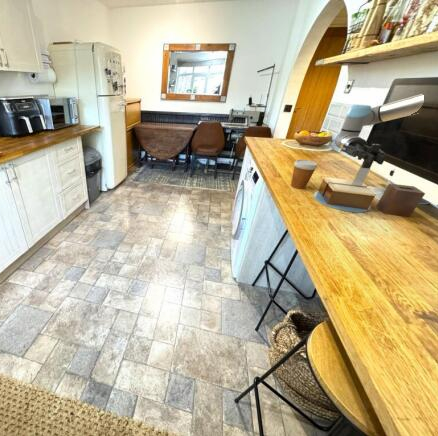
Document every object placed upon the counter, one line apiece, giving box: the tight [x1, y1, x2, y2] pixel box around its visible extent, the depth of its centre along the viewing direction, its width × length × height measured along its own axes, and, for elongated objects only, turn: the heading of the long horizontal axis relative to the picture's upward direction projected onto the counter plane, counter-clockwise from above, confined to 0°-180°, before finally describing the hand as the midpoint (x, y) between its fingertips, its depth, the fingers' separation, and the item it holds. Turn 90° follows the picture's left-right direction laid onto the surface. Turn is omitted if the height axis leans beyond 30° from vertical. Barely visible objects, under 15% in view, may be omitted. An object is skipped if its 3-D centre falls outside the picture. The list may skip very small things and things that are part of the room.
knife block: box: [376, 183, 426, 218], centre depth 93 cm, size 8×7×10 cm
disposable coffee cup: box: [290, 159, 318, 190], centre depth 113 cm, size 10×10×12 cm
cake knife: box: [351, 143, 382, 187], centre depth 95 cm, size 3×2×21 cm, turn 71°
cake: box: [313, 176, 377, 214], centre depth 101 cm, size 20×20×8 cm
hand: (377, 160), depth 87 cm, fingers closed on cake knife, 2 cm apart
